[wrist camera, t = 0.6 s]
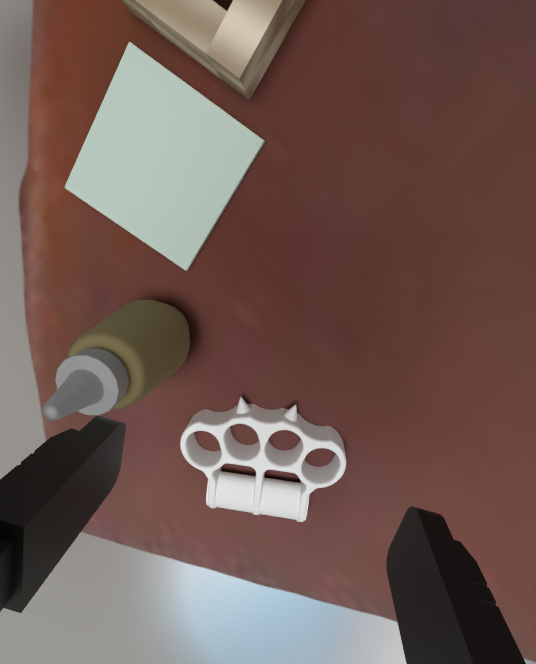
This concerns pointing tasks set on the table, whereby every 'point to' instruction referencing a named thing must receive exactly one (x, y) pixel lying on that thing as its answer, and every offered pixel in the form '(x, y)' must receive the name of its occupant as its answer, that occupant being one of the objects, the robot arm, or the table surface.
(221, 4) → the steel peg
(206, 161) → the sage mat
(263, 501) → the white brass knuckles
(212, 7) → the eye block
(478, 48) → the table surface
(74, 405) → the squeeze bottle
